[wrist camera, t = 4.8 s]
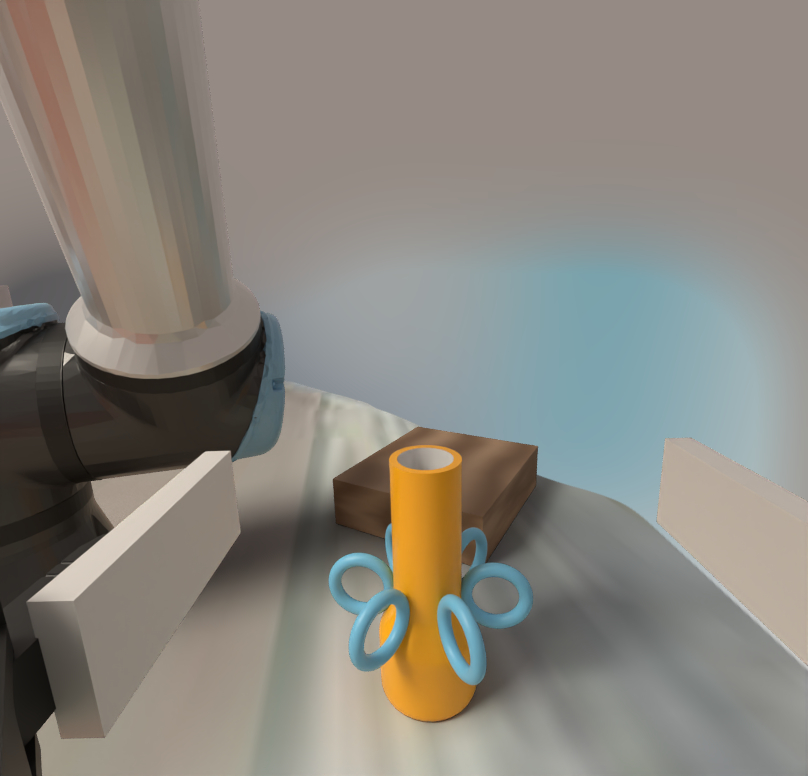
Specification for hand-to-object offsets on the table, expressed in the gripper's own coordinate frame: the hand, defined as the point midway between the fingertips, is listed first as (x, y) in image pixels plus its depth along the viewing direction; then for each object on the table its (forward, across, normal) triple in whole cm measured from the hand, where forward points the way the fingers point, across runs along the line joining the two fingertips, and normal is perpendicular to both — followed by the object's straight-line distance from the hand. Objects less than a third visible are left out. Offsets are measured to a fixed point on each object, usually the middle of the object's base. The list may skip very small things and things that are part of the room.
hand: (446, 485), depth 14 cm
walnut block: (+34, +2, -18) cm, 38 cm away
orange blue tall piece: (+11, 0, -19) cm, 22 cm away
